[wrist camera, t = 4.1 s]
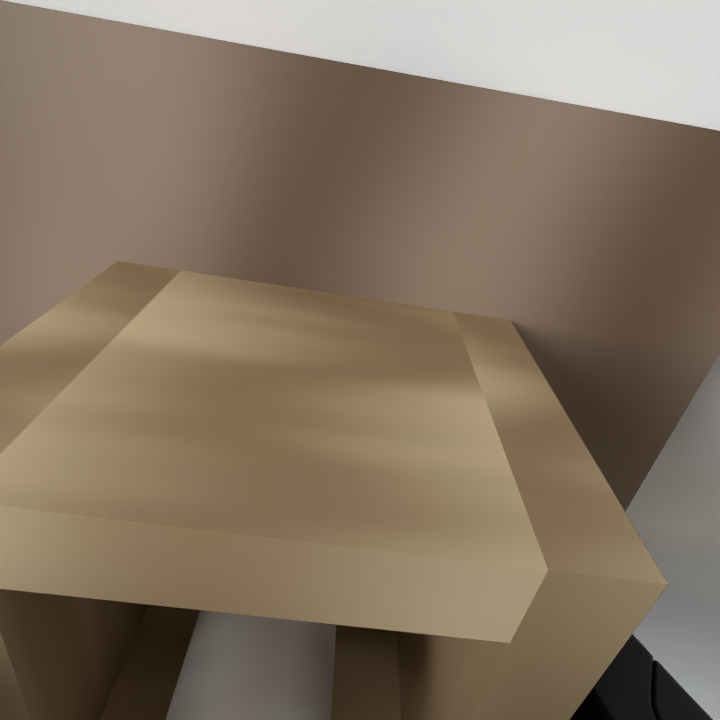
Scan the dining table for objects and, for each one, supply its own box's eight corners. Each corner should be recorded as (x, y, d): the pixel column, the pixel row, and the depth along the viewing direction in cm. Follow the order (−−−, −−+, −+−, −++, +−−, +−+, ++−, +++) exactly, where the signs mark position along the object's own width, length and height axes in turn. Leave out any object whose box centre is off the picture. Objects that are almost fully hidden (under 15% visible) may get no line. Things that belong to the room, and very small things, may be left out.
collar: (510, 320, 8) (668, 584, 4) (425, 569, 11) (461, 868, 7) (117, 260, 8) (-191, 484, 4) (142, 537, 11) (-3, 833, 7)
